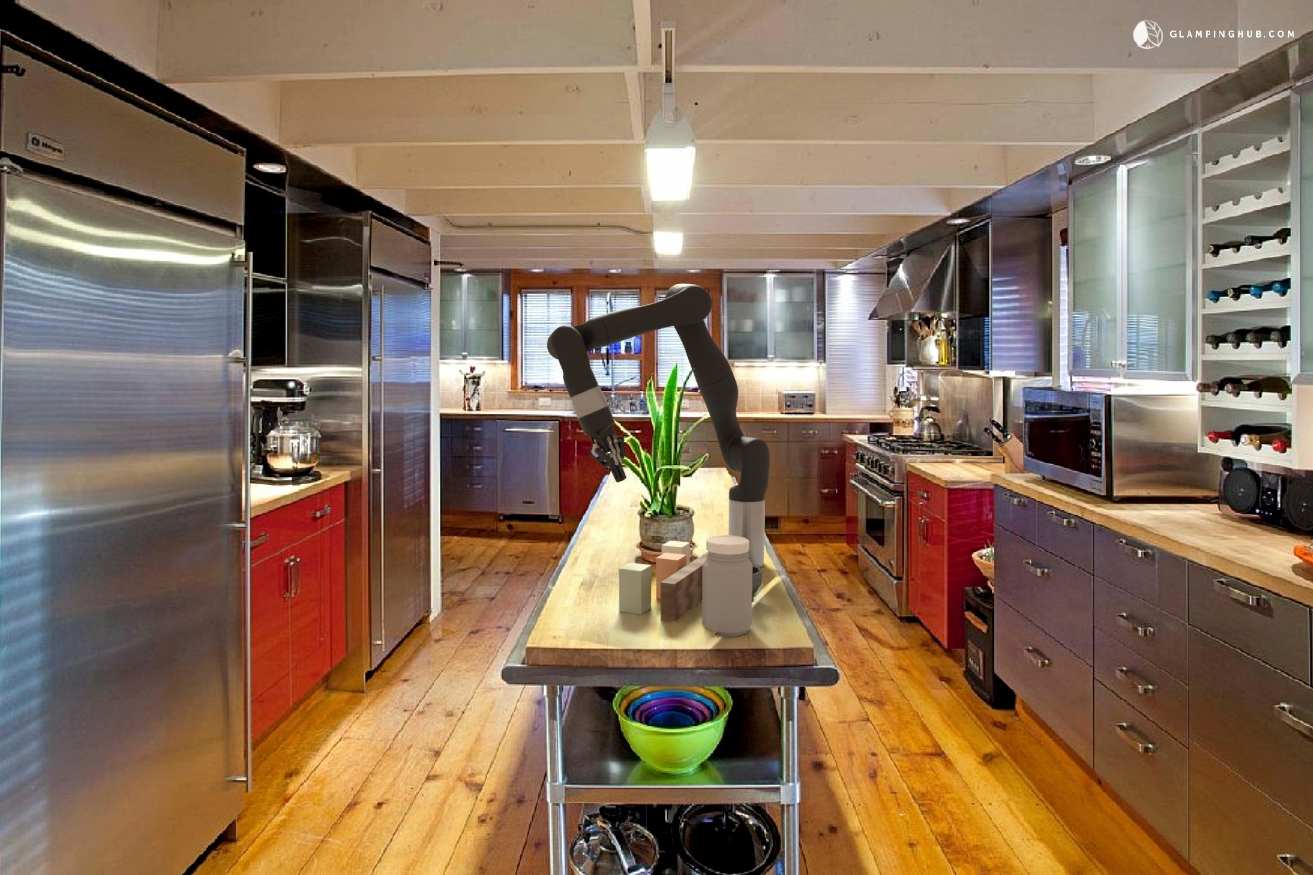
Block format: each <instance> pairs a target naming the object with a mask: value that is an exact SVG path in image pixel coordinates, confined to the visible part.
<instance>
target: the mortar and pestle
mask: <svg viewBox="0 0 1313 875" xmlns="http://www.w3.org/2000/svg"><path fill="white" fill-rule="evenodd" d="M748 559H749V560H750V557H748ZM762 582H763V570H762V567H755V566H752V603H754V602H755V598H754V594H755V593H756V592H758V591H759V589H760V587H761V585H762Z"/></svg>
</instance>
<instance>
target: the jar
mask: <svg viewBox="0 0 1313 875" xmlns="http://www.w3.org/2000/svg"><path fill="white" fill-rule="evenodd" d="M705 543H706V544H705V548H706V549H705V550H707V554H706V556H707V559H706V560H705V561H704V563H703V572H702V601H701V603H702V604H701V611H702V612H701V616H702V617H701V622H702V623H701V625H703V626H704V627H705V628H706V629H709V630H712V631H715V632H716V633H715V634H714V636H717V637H725V638H726V637H727V638H734V637H740V636H742V635H746V634H747V633H748V632H749V630H750V629H751V628H752V624H753V623H752V622H753V620H752V619H753V618H752V617H753V616H752V615H753V602H752V598H753V596H752V563H751V561H750V560H749V559H748V557H749V554H748V553H747V552H748V550H749V540H748V539H746V538H744V537H739V536H729V534H728V535H726V534H724V535H723V534H722V535H715V536H714V535H713V536H711V537H708V538H707V539H706V541H705Z"/></svg>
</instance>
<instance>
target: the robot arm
mask: <svg viewBox="0 0 1313 875" xmlns="http://www.w3.org/2000/svg"><path fill="white" fill-rule="evenodd" d="M664 296H665V297H664V299H662V300H659V301H658V300H657V301H656V302H652V303H648V304H645V305H640V306H634V307H627V308H624V309H619V310H615V311H610V312H608V313H605V314H601V315H597V316H594V317H592V318H590V319H588V320H587V321H585V322H583V323H581V324H577V325H573V326H571V325H568V324H567V325H565V324H564V325H561V326H558V327H557V328H556V329H554V330H553V332H551V334H550V335H549V337H548V338H547V341H546V349H547V352H548V353H549V355H550V356H551V358H554V359H556V360H558V363H559V365H560V367H561V370H562V379H563V384H564V386H565V389H566V391H567V394H568V396H569V397H570V401H571V404H572V408H573V410H574V413H575V415H576V418H577V421H578V422H579V425H580V426H581V429H582V431H583V434H584V435H585V436H589V438H590V442H591V443H590V444H591V445H592V449H591V450H589V451H588V454H589V456H590V457H591V458H593V459H594V460H595V461H596V462H597V464H599V465H600V466H601V467H602V468H603V469H605V468H608V469H610V471H611V474H612V477H613V479H614V481H615V482H616V483H620V482H623V481H625V480H626V479H627V475H626V472H625V470H624V468H623V465H622V463H623V460H624V459H625V455H626V454H625V436H624V435H618V434H617V433H616V431H615V429H614V427H613V426H614V425H615V424H616V421H615V419H614V415H613V414H612V411H611V408H610V406H609V404H608V402H607V398H606V397H605V395H604V393H603V391H602V390H601V387H600V386H599V382H598V380H597V378H596V376H595V373H594V371H593V369H592V367H591V364H590V359H589V355H588V353H589V352H591V351H593V350H596V349H599V348H605V347H608V346H610V345H614V344H617V343H620V342H624V341H626V340H629V339H632V338H635V337H638V336H641V335H645V334H647V333H650V332H655V331H657V330H661V329H666V328H672V327H674V328H673V329H675V330H674V331H676V333H677V335H678V337H679V339H680V341H681V344H682V346H683V349H684V351H685V354H686V356H687V359H688V362H689V365H690V367H691V368H690V369H691V371H692V373H693V377H694V378H695V382H696V385H697V387H698V389H699V392H700V395H701V397H702V399H703V401H704V403H705V406H706V409H707V411H708V414H709V417H710V419H711V423H712V424H713V425H712V426H713V427H714V431H715V433H716V434H715V435H716V439H717V442H718V445H719V448H720V452H721V456H722V459H723V461H724V464H725V465H726V466H727V468H729V469H731V471H734V472H738V473H739V472H740V479H739V483H738V484H736V485H733V486H731V487H730V488H729V490H728V535H729V536H739V537H744V538H746V539H748V540H749V550H748V552H747V553H748V554H749V557H750V561H751V563H752V566H755V567H759V568H762V567H764V565H765V523H766V522H765V518H766V517H765V516H766V515H765V513H766V512H765V509H766V508H765V506H766V504H765V503H766V502H765V501H766V492H767V490H768V487H769V478H770V477H769V475H770V464H771V463H770V462H771V459H770V458H771V455H770V449H769V446H768V444H767V443H766V441H765V440H764V439H761V438H759V437H750V436H745V435H744V433H743V430H742V429H741V426H740V423H739V421H738V418H737V417H738V416H737V406H738V400H739V386H738V384H737V383H738V382H737V380H736V377H735V374H734V372H733V369H732V367H731V365H730V363H729V361H728V359H727V358H726V356H725V354H724V353H723V352H722V350H721V348H719V346H718V345H717V343H716V341H715V340H714V339H713V338H712V336H711V334H710V332H709V330H708V327H707V324H706V322H705V319H706V318H708V317H709V314H710V312H711V310H712V307H713V300H712V297H711V295H710V292H709V291H708V290H707V289H705V288H704V287H702V286H700V285H697V284H692V283H678V284H674V285H673V286H671V287H670V288H669V289H668V290H667V292H666V293H665V295H664ZM694 368H695V369H694ZM693 369H694V370H693Z"/></svg>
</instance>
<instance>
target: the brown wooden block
mask: <svg viewBox="0 0 1313 875" xmlns="http://www.w3.org/2000/svg"><path fill="white" fill-rule="evenodd" d="M707 552H708V551H707ZM707 552H705V553H704V554H702V555H701V556H699V557H697V558H696V559H695V560H693V561H690V564H688V565H687V566H685V567H683V568H682V569H680V570H679V571H677V572H676V573H674V574H673V575H671V576H670V577H668V578H667V579H665V580H664V581H662V582H661V599H660V621H663V622H671V623H676V622H678V620H680V619H681V618H682V617H684V616H685V615H686V614H687V613H688V612H689V611H691V610H693V608H695V607H696V606H697V605H698V604H700V603H702V572H703V563H704V561H705V560H706V559H707V556H706V554H707Z"/></svg>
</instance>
